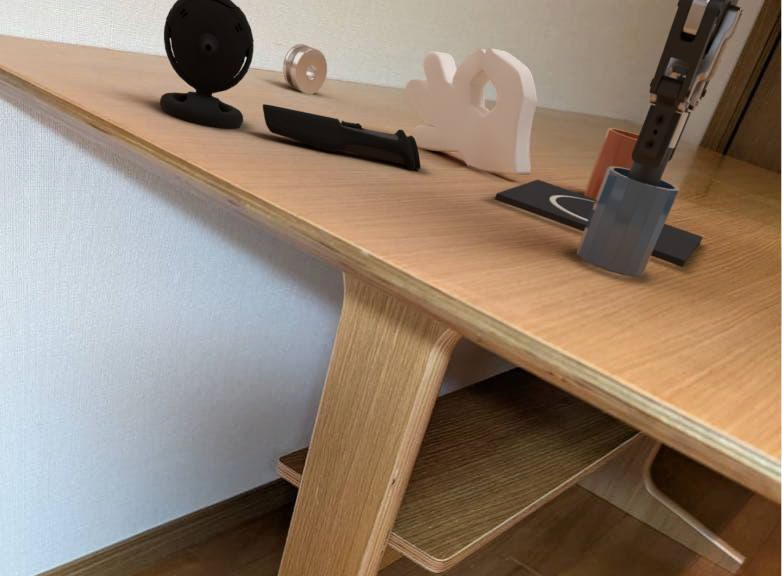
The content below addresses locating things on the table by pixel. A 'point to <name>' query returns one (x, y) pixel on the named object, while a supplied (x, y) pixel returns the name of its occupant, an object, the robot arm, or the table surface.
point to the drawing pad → (578, 209)
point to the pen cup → (626, 222)
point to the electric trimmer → (342, 136)
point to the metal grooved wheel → (305, 68)
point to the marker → (655, 174)
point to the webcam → (207, 59)
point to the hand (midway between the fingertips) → (650, 160)
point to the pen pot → (611, 157)
